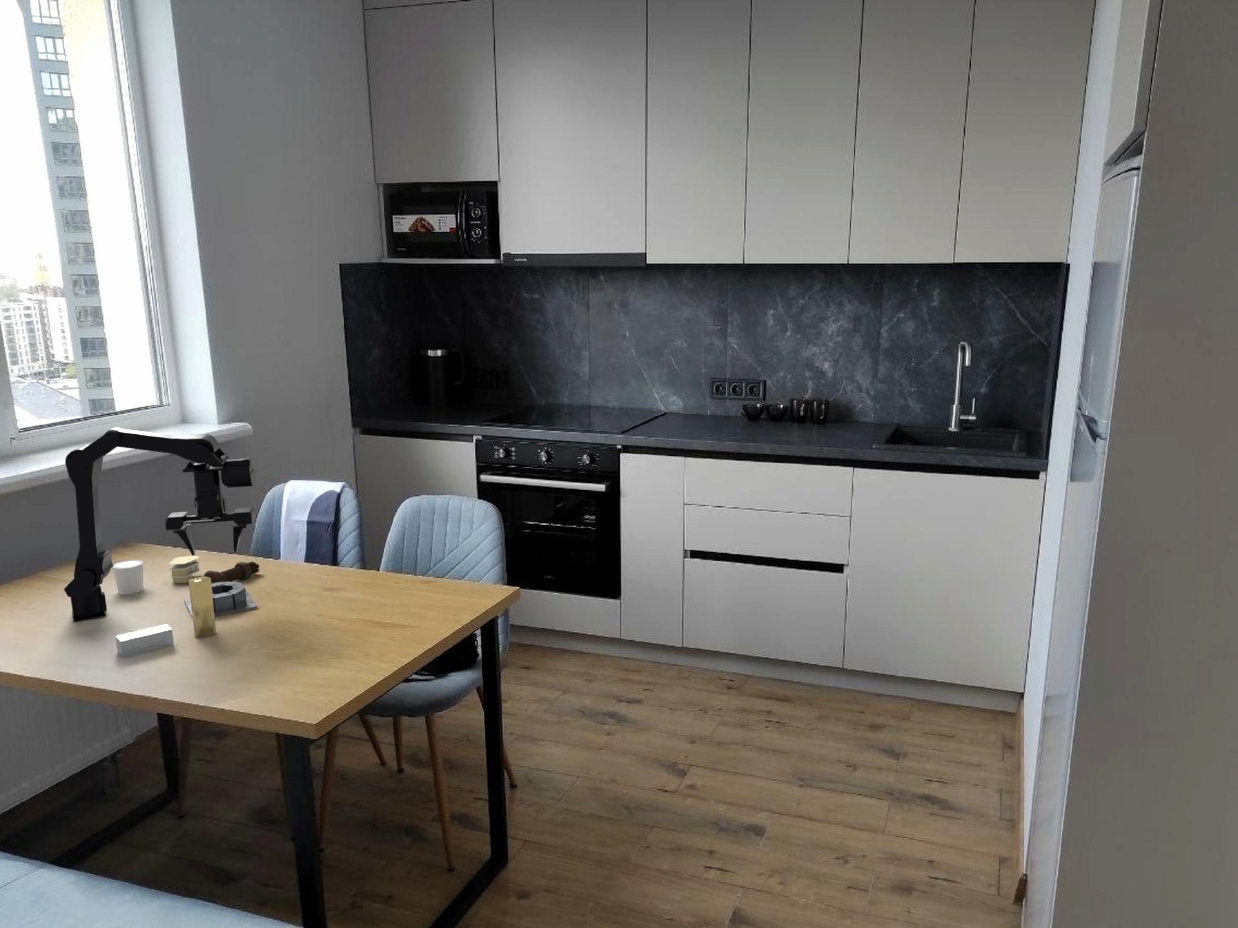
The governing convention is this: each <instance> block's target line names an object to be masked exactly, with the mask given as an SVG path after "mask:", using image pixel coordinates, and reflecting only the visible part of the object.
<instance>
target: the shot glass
mask: <svg viewBox="0 0 1238 928" xmlns="http://www.w3.org/2000/svg"><path fill="white" fill-rule="evenodd" d="M113 565H114V566H113V567H112V571H113V575H114V578H115V579H114V580H115V584H116V587H117V592H118V593H117V594H120V595H132V594H137V593H140V592H142V591H144V561H143V560H139V559H129V560H122V561H119V562H117V563H113Z"/></svg>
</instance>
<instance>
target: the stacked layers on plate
mask: <svg viewBox="0 0 1238 928" xmlns="http://www.w3.org/2000/svg"><path fill="white" fill-rule="evenodd" d="M199 558H200V556H198V555H195V556H192V555H190V556H189V555H187V556H178V557H175V558H173V560H171V561H170V562H169V563H168V564H169V565H172V566H170V567H169V570H170V571H171V575H170V576H169V577H170V578H172V584H186V583H189V580H190V579H193V575H194V574H196V573H199V572H201V568H200V565H199V564H201V561H199V560H197V559H199Z"/></svg>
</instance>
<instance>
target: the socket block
mask: <svg viewBox="0 0 1238 928" xmlns="http://www.w3.org/2000/svg"><path fill="white" fill-rule="evenodd" d="M211 585H212V595H213V605H214V614H215V618H216V617H220V616H221V617H222V616H225V615H230V614H231V615H232V614H235V613H236V614H237V613H240V612H242V613H243V612H245V611H246V612H247V611H252V610H257V609H258V605H257V603H256V602H255V601H254V599H253V598H252V596H251V595H250V594H249V592H248V590H247V589H246V586H245V585H244V584H243V583H242V582H240V581H239V582H237V581H232V582H219V583H213V584H211ZM184 604H185V606H186V608H187V610H188V612H189V615H190V616H191V618H192V620H193V616H192V607H191V598H190V599H189V598H188V599H184Z"/></svg>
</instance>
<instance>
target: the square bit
mask: <svg viewBox="0 0 1238 928" xmlns="http://www.w3.org/2000/svg"><path fill="white" fill-rule="evenodd" d="M115 641H116V649H117V651H116V652H117V654H118V655H119V657H121V659H123V660H124V659H127V658H131V657H135V656H139V655H143V654H148V653H150V652H151V653H152V652H155V651H159V650H163V649H167V648H171V647H174V646H175V643H174V635H173V628H171V627H170V626H169V625H168V624H167V623H164V624H161V625H156V626H153V627H148V628H143V629H139V630H136V631H135V630H134V631H132V632H126V633H122V634H118V635H115Z"/></svg>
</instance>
